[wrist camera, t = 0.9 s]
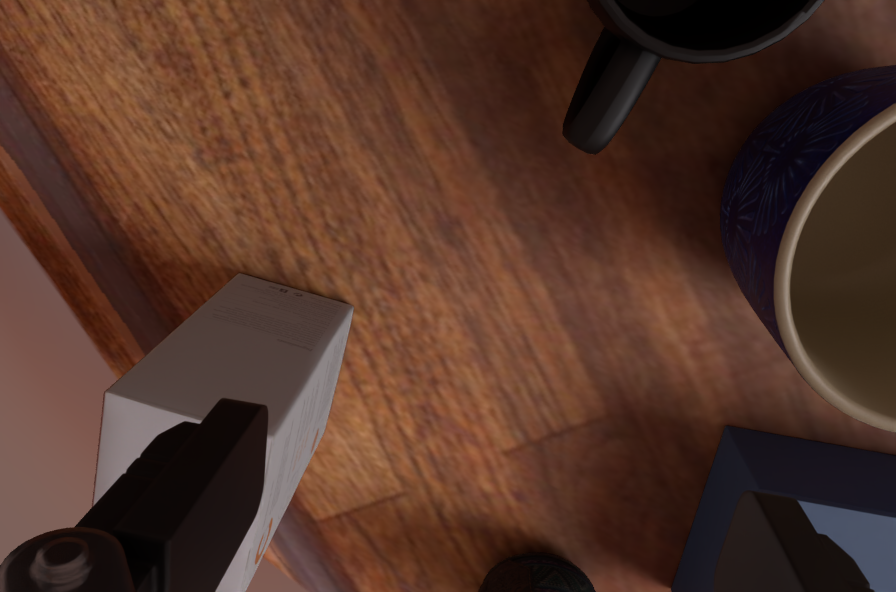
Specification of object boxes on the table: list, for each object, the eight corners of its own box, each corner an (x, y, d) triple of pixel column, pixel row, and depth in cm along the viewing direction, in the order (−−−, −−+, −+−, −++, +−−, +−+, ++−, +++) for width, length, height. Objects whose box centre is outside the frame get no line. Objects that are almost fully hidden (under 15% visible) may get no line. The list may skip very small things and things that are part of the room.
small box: (237, 269, 37) (100, 386, 25) (357, 303, 37) (278, 437, 25) (214, 402, 40) (81, 567, 28) (325, 434, 40) (240, 612, 28)
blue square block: (725, 424, 38) (761, 493, 32) (937, 462, 37) (1012, 539, 32) (670, 589, 41) (694, 676, 36) (862, 624, 41) (916, 718, 35)
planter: (828, 368, 36) (953, 501, 26) (640, 218, 34) (693, 297, 24) (1044, 172, 32) (1293, 239, 22) (843, -9, 30) (1011, -30, 20)
